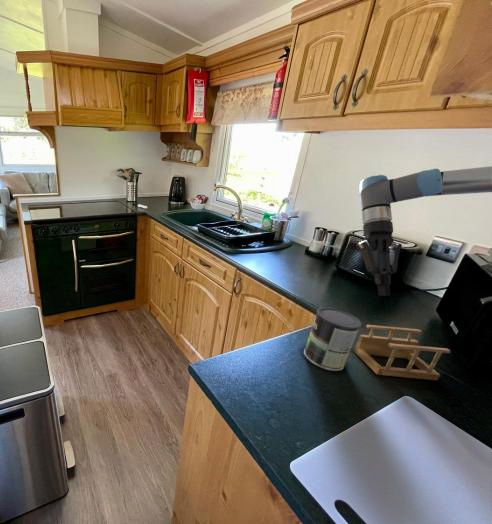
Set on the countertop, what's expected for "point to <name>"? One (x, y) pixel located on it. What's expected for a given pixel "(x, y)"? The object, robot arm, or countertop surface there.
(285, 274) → the countertop surface
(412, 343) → the rack
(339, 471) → the countertop surface
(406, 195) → the robot arm
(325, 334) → the coffee can
